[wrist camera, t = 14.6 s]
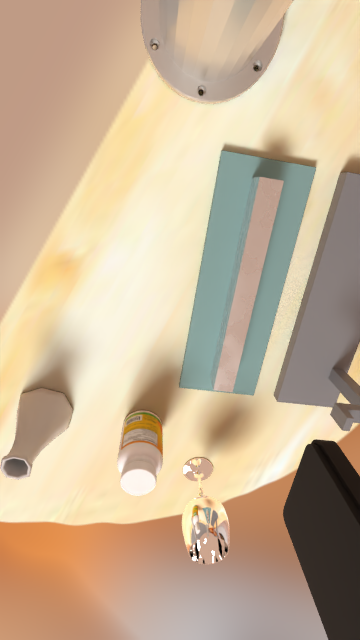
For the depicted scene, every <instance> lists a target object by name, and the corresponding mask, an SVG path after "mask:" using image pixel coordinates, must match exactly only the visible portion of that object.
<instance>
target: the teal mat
mask: <svg viewBox="0 0 360 640" xmlns="http://www.w3.org/2000/svg"><path fill="white" fill-rule="evenodd" d="M315 170H316V167H310V166H305V165H299V164H294V163H288V162H283V161H277V160H272V159H267V158H261V157H256V156H250V155H245V154H239V153H234V152H228V151H223V150H222V151H221V156H220V161H219V167H218V172H217V178H216V184H215V189H214V195H213V200H212V206H211V211H210V217H209V222H208V228H207V234H206V239H205V245H204V250H203V256H202V261H201V267H200V272H199V278H198V284H197V289H196V295H195V300H194V306H193V311H192V317H191V322H190V328H189V334H188V339H187V345H186V350H185V356H184V361H183V367H182V372H181V378H180V384H179V388H188V389H198V390H207V391H215V390H213V387H212V383H211V380H210V375H211V370H212V365H213V360H214V356H215V351H216V346H217V341H218V337H219V332H220V327H221V322H222V318H223V313H224V308H225V303H226V299H227V294H228V289H229V284H230V280H231V275H232V270H233V265H234V261H235V256H236V251H237V246H238V242H239V237H240V232H241V227H242V223H243V218H244V213H245V208H246V204H247V199H248V194H249V189H250V185H251V180H252V178H254V177H265V178H270V179H276V180H282V181H284V183H283V187H282V191H281V195H280V199H279V203H278V207H277V211H276V216H275V220H274V224H273V228H272V232H271V236H270V240H269V244H268V249H267V253H266V257H265V261H264V265H263V269H262V273H261V277H260V281H259V286H258V290H257V294H256V298H255V302H254V306H253V310H252V314H251V319H250V323H249V327H248V331H247V335H246V339H245V343H244V347H243V351H242V356H241V360H240V364H239V368H238V372H237V376H236V380H235V384H234V389H233V392H226V393H236V394H245V395H254V392H255V388H256V385H257V381H258V377H259V374H260V370H261V366H262V363H263V359H264V356H265V352H266V348H267V345H268V341H269V337H270V334H271V330H272V326H273V323H274V319H275V316H276V312H277V308H278V305H279V301H280V297H281V294H282V290H283V286H284V283H285V279H286V275H287V272H288V268H289V265H290V261H291V257H292V254H293V250H294V246H295V243H296V239H297V235H298V232H299V228H300V225H301V221H302V217H303V214H304V210H305V206H306V203H307V199H308V195H309V192H310V188H311V185H312V181H313V177H314V174H315ZM217 392H225V391H217Z"/></svg>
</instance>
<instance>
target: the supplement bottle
mask: <svg viewBox="0 0 360 640" xmlns="http://www.w3.org/2000/svg"><path fill="white" fill-rule="evenodd" d="M162 461H163V444H162V423H161V420H160V419H159V417H158V416H157V415H156V414H154V413H152V412H150V411H144V410H141V411H136V412H133V413H131V414H130V415H128V416H127V418H126V419H125V421H124V423H123V428H122V434H121V440H120V447H119V453H118V460H117V465H118V469H119V471H120V473H121V480H120V483H121V487H122V488H123V490H124V491H126V492H127V493H129V494H131V495H145V494H147V493H149V492H151V491H152V490H153V489H154V487H155V485H156V475H157V474H158V473H159V472H160V470H161V467H162Z"/></svg>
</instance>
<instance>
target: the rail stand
mask: <svg viewBox="0 0 360 640" xmlns="http://www.w3.org/2000/svg"><path fill="white" fill-rule="evenodd" d="M359 341H360V174H355V173H350V172H344V173H340V176H339V179H338V182H337V186H336V189H335V192H334V196H333V199H332V202H331V206H330V209H329V212H328V216H327V219H326V222H325V226H324V229H323V232H322V236H321V239H320V242H319V246H318V249H317V252H316V256H315V259H314V262H313V266H312V269H311V272H310V276H309V279H308V282H307V286H306V289H305V292H304V296H303V299H302V302H301V306H300V309H299V312H298V316H297V319H296V322H295V326H294V329H293V332H292V336H291V339H290V342H289V346H288V349H287V352H286V356H285V359H284V362H283V366H282V369H281V372H280V376H279V379H278V382H277V386H276V389H275V392H274V397H275V398H276V400H277V402H286V403H295V404H305V405H315V406H324V407H333V409H332V411H331V414H330V415H331V416H332V417H333V419H334V420H335V421H336V423H337V424H338V425H339V427H340V428H341V429H342V430H343V431H350V428H351V426H352V423H353V422H354V423H360V386H359V385H358V384H357V383H356V382H355V381H354V380H353V379H352V378H351V377H350V376H349V375H348V374H347V373H348V370H349V368H350V365H351V362H352V360H353V357H354V354H355V352H356V349H357V347H358V344H359ZM340 392H341V393H342V394H343V396H344V397H345V398H346V399H347V400H348V401H349V402H350V403H351V404H343V403H336V402H337V399H338V396H339V394H340Z"/></svg>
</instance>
